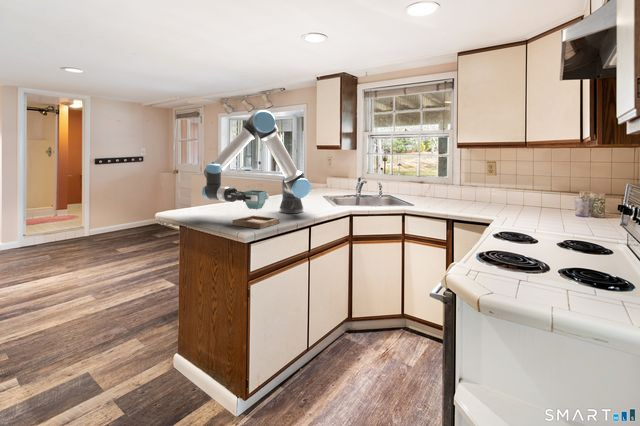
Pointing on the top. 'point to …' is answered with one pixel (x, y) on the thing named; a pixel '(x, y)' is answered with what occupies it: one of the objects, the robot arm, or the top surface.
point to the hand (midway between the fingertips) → (262, 197)
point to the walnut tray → (255, 221)
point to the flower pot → (260, 199)
